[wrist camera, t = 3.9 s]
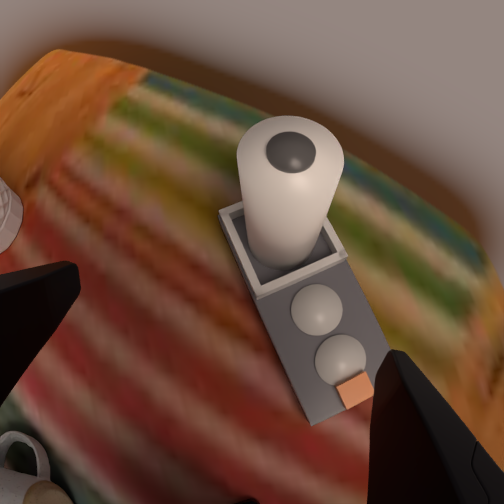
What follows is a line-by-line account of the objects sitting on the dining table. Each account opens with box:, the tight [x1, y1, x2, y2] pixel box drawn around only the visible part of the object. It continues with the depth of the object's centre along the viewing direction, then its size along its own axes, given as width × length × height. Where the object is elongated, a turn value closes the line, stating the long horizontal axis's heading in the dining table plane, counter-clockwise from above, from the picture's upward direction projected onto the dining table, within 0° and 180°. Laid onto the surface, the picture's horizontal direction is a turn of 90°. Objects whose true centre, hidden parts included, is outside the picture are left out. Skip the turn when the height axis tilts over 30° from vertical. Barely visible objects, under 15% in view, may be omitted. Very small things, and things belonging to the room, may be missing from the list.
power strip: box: [217, 201, 390, 426], centre depth 20 cm, size 15×6×2 cm, turn 23°
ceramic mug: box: [0, 431, 73, 504], centre depth 12 cm, size 11×8×8 cm
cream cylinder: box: [237, 116, 344, 271], centre depth 17 cm, size 4×4×9 cm
